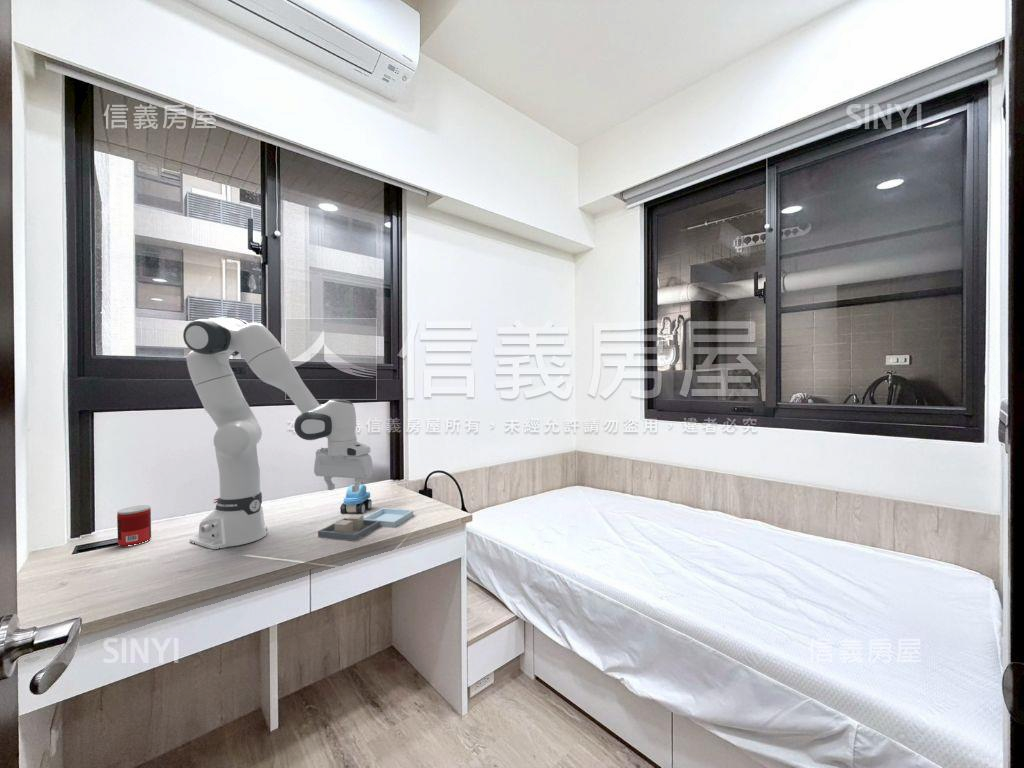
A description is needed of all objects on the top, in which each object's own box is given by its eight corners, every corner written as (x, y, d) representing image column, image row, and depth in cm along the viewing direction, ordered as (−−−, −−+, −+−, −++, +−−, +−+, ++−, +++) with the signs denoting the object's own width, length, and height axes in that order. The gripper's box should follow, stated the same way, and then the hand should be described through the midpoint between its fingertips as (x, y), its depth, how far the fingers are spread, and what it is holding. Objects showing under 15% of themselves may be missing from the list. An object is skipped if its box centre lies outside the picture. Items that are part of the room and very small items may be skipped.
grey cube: (334, 536, 135) (334, 523, 135) (342, 531, 139) (342, 519, 139) (345, 537, 134) (344, 524, 134) (353, 532, 138) (352, 520, 138)
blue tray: (361, 525, 146) (360, 519, 146) (382, 514, 159) (382, 507, 159) (394, 529, 142) (394, 522, 142) (413, 516, 155) (413, 510, 155)
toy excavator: (379, 503, 173) (378, 462, 173) (360, 516, 157) (359, 471, 156) (359, 503, 174) (358, 462, 174) (339, 516, 157) (338, 471, 157)
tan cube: (347, 530, 140) (346, 518, 140) (352, 526, 144) (352, 514, 144) (358, 530, 140) (358, 518, 140) (363, 526, 144) (363, 514, 144)
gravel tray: (318, 538, 135) (317, 531, 135) (344, 524, 147) (344, 518, 147) (355, 542, 131) (355, 534, 131) (379, 528, 144) (379, 521, 144)
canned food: (157, 539, 136) (156, 505, 136) (129, 548, 129) (128, 513, 129) (140, 537, 138) (139, 504, 138) (111, 546, 131) (110, 511, 131)
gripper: (309, 449, 136) (309, 491, 136) (363, 451, 130) (363, 494, 130) (322, 446, 142) (323, 486, 142) (374, 447, 136) (375, 489, 136)
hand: (343, 490), depth 136 cm, fingers open, 8 cm apart
